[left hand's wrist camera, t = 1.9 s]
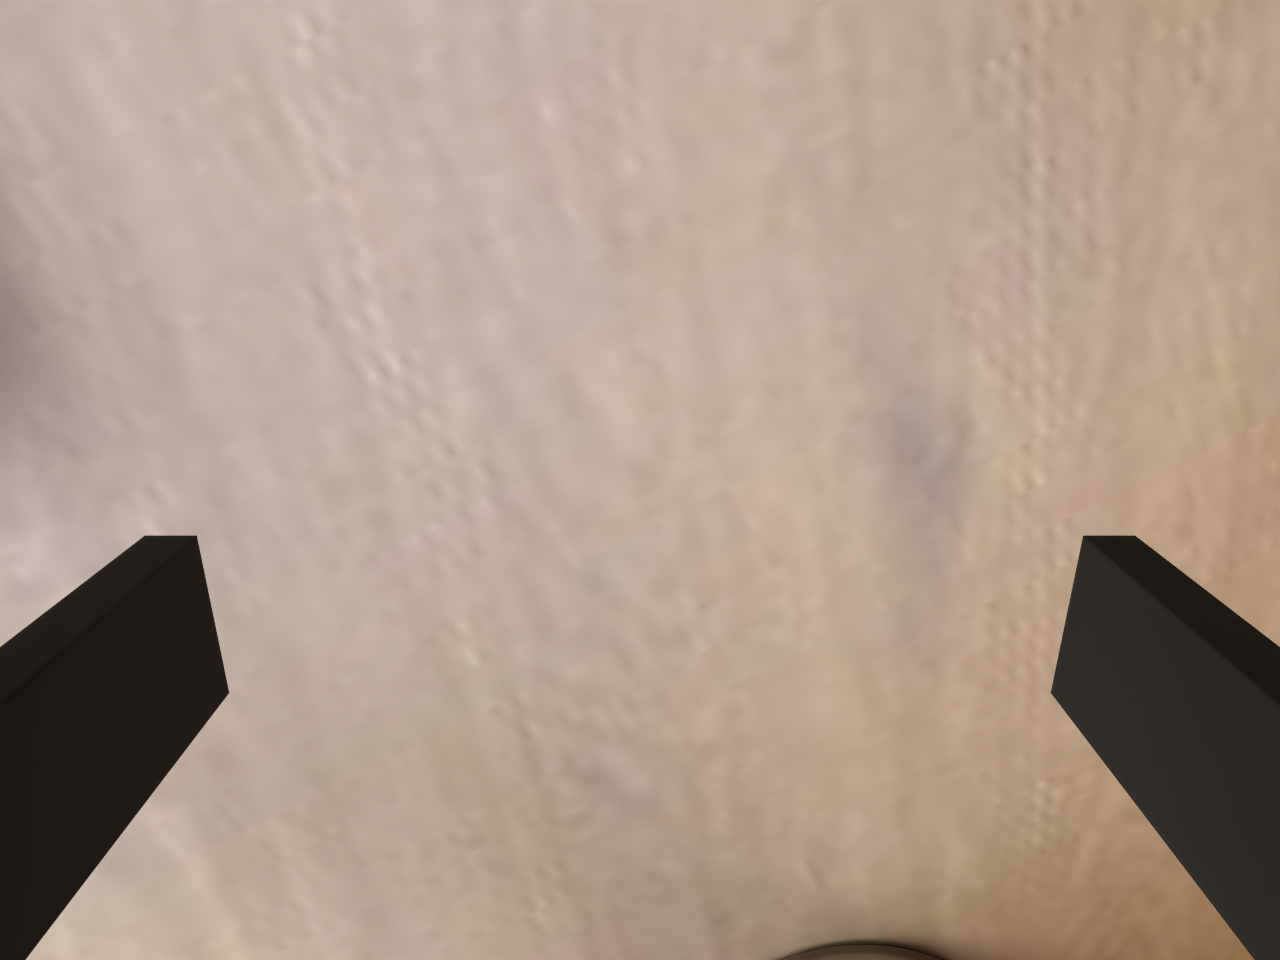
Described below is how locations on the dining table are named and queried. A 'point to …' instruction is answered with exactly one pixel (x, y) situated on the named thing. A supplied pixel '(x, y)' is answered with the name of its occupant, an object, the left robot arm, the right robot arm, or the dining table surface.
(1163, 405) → the dining table surface
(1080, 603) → the left robot arm
